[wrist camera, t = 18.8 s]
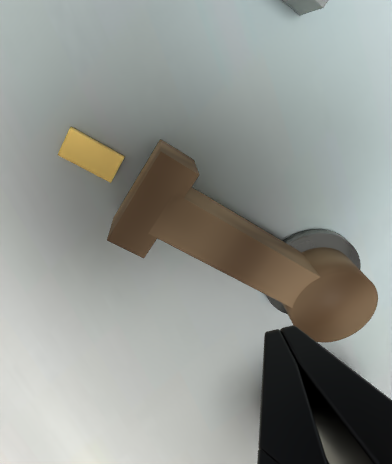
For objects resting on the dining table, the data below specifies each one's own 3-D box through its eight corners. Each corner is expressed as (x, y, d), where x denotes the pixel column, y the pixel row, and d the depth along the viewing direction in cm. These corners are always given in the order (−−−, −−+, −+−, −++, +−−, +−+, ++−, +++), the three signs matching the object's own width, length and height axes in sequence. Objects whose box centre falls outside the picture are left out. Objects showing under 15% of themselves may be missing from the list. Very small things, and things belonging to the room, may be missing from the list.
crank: (368, 268, 22) (395, 295, 20) (317, 322, 24) (336, 353, 21) (160, 138, 17) (160, 151, 15) (113, 217, 19) (106, 241, 16)
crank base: (312, 321, 25) (316, 328, 24) (41, 191, 19) (37, 195, 18) (374, 255, 23) (380, 261, 22) (91, 83, 17) (88, 83, 16)
